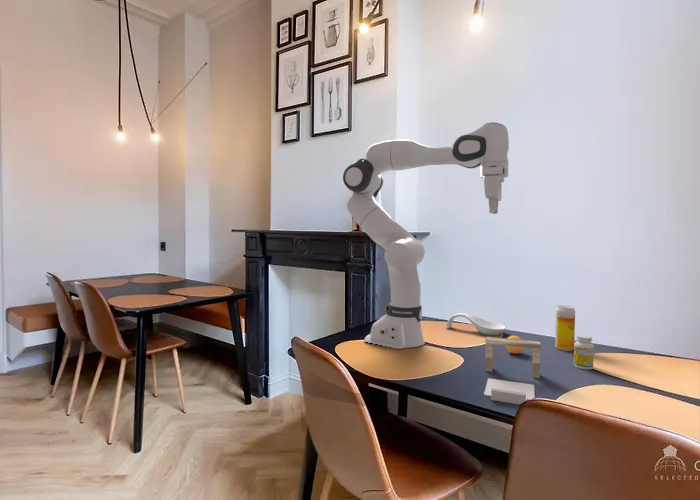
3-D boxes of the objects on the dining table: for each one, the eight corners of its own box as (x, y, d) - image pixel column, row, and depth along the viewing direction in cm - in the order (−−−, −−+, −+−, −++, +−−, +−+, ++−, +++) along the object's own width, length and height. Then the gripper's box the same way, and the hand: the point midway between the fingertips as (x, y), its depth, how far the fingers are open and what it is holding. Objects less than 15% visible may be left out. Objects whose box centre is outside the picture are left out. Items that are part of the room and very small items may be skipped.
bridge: (539, 378, 117) (540, 344, 116) (485, 370, 123) (485, 339, 122) (539, 374, 119) (540, 342, 119) (486, 367, 125) (486, 336, 125)
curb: (491, 399, 102) (491, 390, 102) (491, 397, 104) (491, 388, 103) (525, 405, 99) (525, 395, 99) (525, 402, 100) (526, 393, 100)
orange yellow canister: (576, 352, 140) (577, 309, 139) (557, 351, 141) (558, 308, 140) (570, 346, 146) (572, 305, 145) (552, 345, 147) (553, 305, 146)
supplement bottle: (591, 371, 122) (592, 339, 121) (571, 367, 125) (572, 336, 125) (594, 366, 126) (595, 335, 125) (575, 362, 129) (576, 333, 129)
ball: (504, 354, 138) (504, 337, 137) (505, 349, 143) (505, 332, 143) (523, 356, 135) (524, 339, 135) (524, 351, 141) (524, 334, 140)
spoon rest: (508, 332, 167) (508, 315, 166) (502, 339, 157) (502, 321, 156) (451, 325, 179) (451, 309, 178) (442, 331, 169) (442, 314, 168)
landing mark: (483, 395, 105) (483, 394, 105) (488, 379, 116) (488, 378, 116) (534, 403, 100) (534, 402, 100) (534, 385, 111) (534, 384, 111)
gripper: (487, 176, 147) (486, 214, 148) (481, 169, 129) (480, 212, 130) (505, 175, 145) (505, 213, 146) (502, 167, 126) (501, 212, 127)
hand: (493, 213), depth 137 cm, fingers open, 8 cm apart
